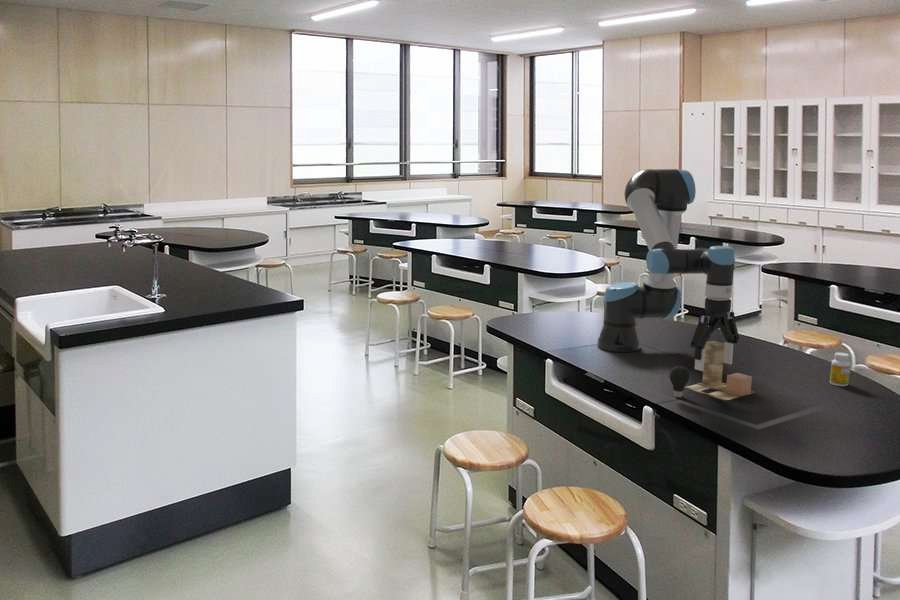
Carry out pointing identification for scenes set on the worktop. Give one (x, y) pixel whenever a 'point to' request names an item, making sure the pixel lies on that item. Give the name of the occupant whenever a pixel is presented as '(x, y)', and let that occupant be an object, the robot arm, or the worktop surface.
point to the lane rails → (715, 389)
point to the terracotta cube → (739, 384)
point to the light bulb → (679, 379)
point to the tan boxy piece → (714, 365)
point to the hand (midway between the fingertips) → (713, 366)
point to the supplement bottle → (840, 370)
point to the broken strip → (717, 393)
